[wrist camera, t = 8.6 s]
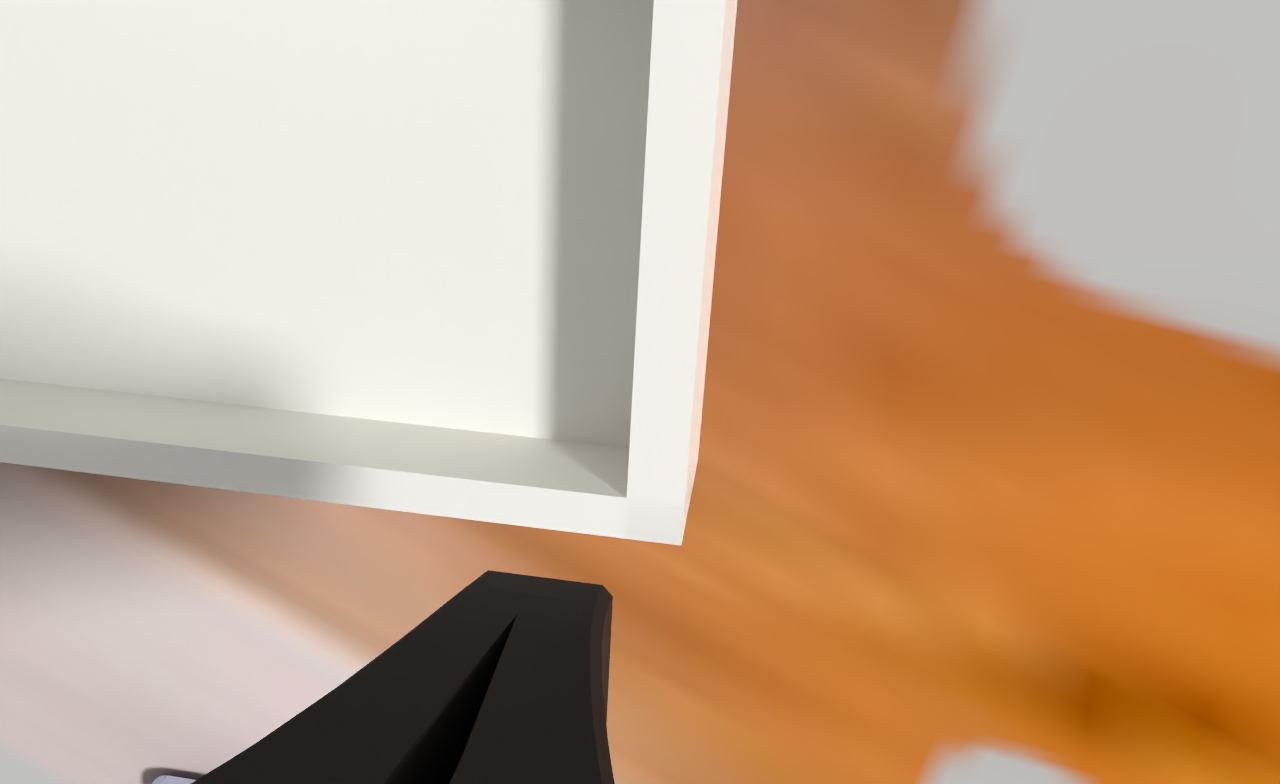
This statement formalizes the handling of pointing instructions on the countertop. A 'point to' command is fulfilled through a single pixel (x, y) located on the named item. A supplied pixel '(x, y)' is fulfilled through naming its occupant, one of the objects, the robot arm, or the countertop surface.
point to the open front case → (366, 249)
